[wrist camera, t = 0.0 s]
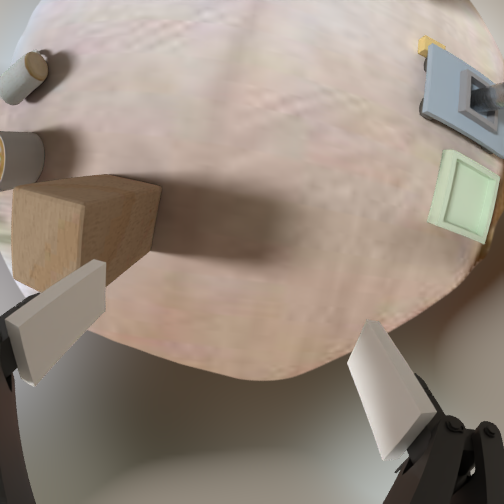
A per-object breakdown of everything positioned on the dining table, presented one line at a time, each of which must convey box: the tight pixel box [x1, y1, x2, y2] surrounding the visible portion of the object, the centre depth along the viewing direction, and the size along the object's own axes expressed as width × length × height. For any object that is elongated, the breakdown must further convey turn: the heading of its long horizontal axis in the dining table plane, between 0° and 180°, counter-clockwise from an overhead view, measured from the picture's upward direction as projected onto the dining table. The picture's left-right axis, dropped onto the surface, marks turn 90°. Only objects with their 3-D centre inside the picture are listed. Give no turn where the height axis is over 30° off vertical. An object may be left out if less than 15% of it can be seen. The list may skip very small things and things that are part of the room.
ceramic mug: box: [0, 50, 48, 105], centre depth 30 cm, size 11×8×8 cm
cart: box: [418, 35, 504, 159], centre depth 30 cm, size 15×18×7 cm
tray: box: [427, 150, 500, 244], centre depth 36 cm, size 12×12×3 cm
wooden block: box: [11, 174, 162, 293], centre depth 31 cm, size 10×10×20 cm
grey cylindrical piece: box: [0, 131, 45, 192], centre depth 33 cm, size 13×10×10 cm
